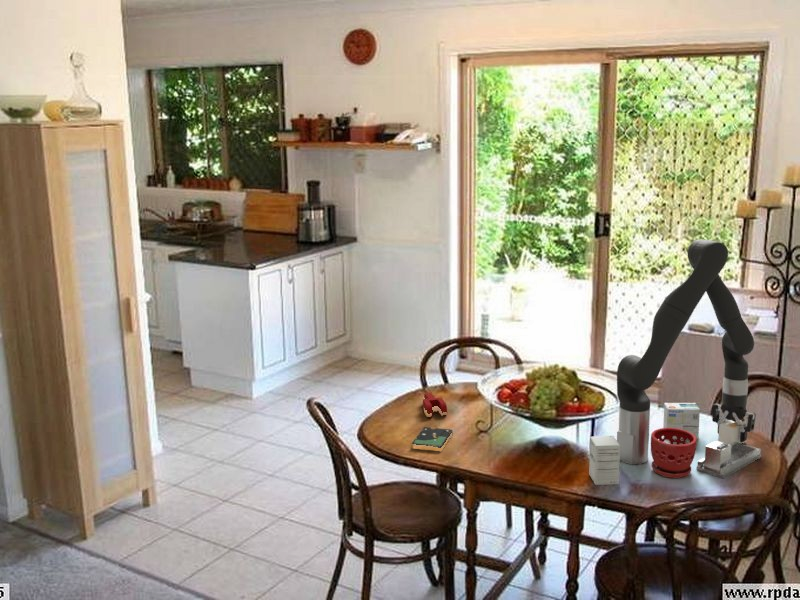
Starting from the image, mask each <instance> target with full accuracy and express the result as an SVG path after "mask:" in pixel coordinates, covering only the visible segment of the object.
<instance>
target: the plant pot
mask: <svg viewBox="0 0 800 600" xmlns="http://www.w3.org/2000/svg"><path fill="white" fill-rule="evenodd" d="M673 436H676V437H677V439H673ZM681 438H683V439H681ZM687 440H688V441H689V443H687ZM697 440H698V439H696V437H695V436H694V435H693V434H692V433H690V432H688V431H685V430H682V429H676V428H663V427H661V428H658V429H655V430H653V431H652V432H651V435H650V454H651V457H652V461H651V463H650V464H651V469H652V470H653V471H654V472H655V473H657V474H658V475H660V476H663V477H666V478H671V479H672V478H673V479H677V478H685V477H686V476H688V475H689V474H691V472H692V466H691V465H692V463H693V461H694V459H695V455H696V450H697ZM665 441H669V442H668V443H667V442H665ZM674 443H676V444H674Z"/></svg>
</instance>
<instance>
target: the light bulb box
mask: <svg viewBox="0 0 800 600" xmlns="http://www.w3.org/2000/svg"><path fill="white" fill-rule="evenodd" d="M700 409H701V408H699V406H698V405H697V403H696V402H664V403H663V427H662V428H676V429H682V430H685V431H688V432H690V433H692V434H693V435H694V436H695V437H696V439H697V440H699V439H700V437H699V435H700V433H699V431H700V412H701V410H700ZM673 439H674V440H676V439H677V437H676V436H673ZM681 440H683V438H681Z"/></svg>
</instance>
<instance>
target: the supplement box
mask: <svg viewBox="0 0 800 600" xmlns="http://www.w3.org/2000/svg"><path fill="white" fill-rule="evenodd" d="M588 462H589V464H588V465H589V468H588V474H589V476H590V478H591V479H592V480H591V481H593V484H594V486H595V485H596V486H600V485H601V486H602V485H603V486H604V485H605V486H606V485H619V484H620V445H619V443H618V442H617V438H616V437H615V436H614V435H599V436H598V435H597V436H594V435H593V436H590V437H589V461H588Z"/></svg>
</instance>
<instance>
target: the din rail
mask: <svg viewBox="0 0 800 600" xmlns="http://www.w3.org/2000/svg"><path fill="white" fill-rule="evenodd" d="M704 450H705V451H704V457H703V458H701V459H699V460H697V465H696V470H697V471H699V472H703V473H706V474H709V475H712V476H715V477H718V478H719V479H720V478H721V479H726V478H727V477H730V476H731V475H733V474H735V473H736V472H739V471H740V470H743V469H744V468H745V467H747V466H749V465H750V463H751V464H752V463H754V462H756V461H757V459H758V460H759V459H761V458H762V455H761V451H762V450H761V448H758V447H755V446H752V445H747V444H744V443H743V444H742V443H738V442H733V443H731V444H728V443H725V442H724V443H722V442H719V441H718V440H715V441H713V442H710V443H709V444H707V445H705V449H704ZM760 457H761V458H760ZM755 460H756V461H755ZM748 464H749V465H748Z"/></svg>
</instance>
